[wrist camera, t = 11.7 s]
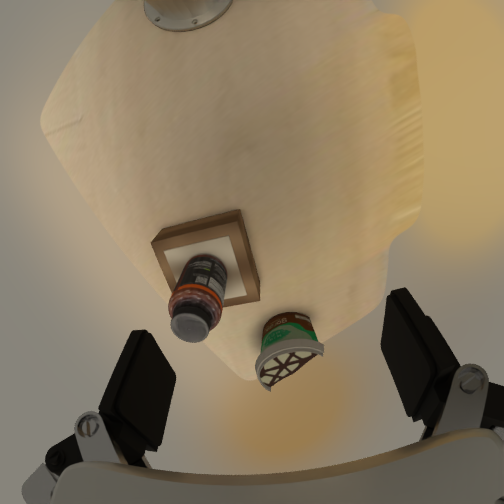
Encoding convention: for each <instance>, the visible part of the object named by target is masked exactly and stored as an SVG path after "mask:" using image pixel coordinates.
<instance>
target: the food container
mask: <svg viewBox="0 0 504 504" xmlns="http://www.w3.org/2000/svg"><path fill="white" fill-rule="evenodd" d="M323 352H324V345H323V344H322V343H320V342H318V339H317V337H316V334H315V331H314V329H313V326H312V324H311V321H310V318H309V317H308V316H306V315H304V314H300V313H297V312H286V313H282V314H278V315H276V316H274V317H272V318H271V319H270V320H269V321H268V322H267V323H266V324H265V326H264V329H263V337H262V346H261V354H260V355H259V356H258V358H257V360H256V364H255V369H256V373H257V377H258V380H259V381H260V383H261V385H262V386H263V387H264V388H265V389H267V390H268V391H271V386H273V385H274V384H275V383H277V382H278V381H280V380H282V379H283V378H285V377H287V376H289V375H291V374H293V373H295V372H296V371H297V370H298V369H300V368H301V367H302V366H303V365H304V364H305V363H307V362H308V361H309V360H311V359H312V358H313V357H315V356H316V355H318V354H319V355H321V356H323Z"/></svg>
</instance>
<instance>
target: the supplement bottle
mask: <svg viewBox="0 0 504 504" xmlns="http://www.w3.org/2000/svg"><path fill="white" fill-rule="evenodd" d="M227 276H228V275H227V270H226V268H225V266H224V264H223V263H222V262H221V261H220V260H219V259H217V258H215V257H213V256H211V255H197V256H194V257H193V258H191V259H190V260H189V261H188V262H187V263H186V265H185V266H184V268H183V271H182V273H181V275H180V277H179V279H178V282H177V284H176V286H175V288H174V291H173V293H172V295H171V298H170V300H169V305H168V309H169V314H170V317H171V318H172V320H171V329H172V331H173V333H174V334H175V335H176V336H177V337H178V338H180V339H181V340H184V341H186V342H192V343H193V342H194V343H196V342H200V341H203V340H204V339H205V338H206V337H207V336H208V334H209V331H210V330H212V329H213V328H214V327H216V326H217V324H218V323H219V321H220V318H221V314H222V309H223V303H224V297H225V290H226V285H227Z"/></svg>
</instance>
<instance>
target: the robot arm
mask: <svg viewBox="0 0 504 504" xmlns="http://www.w3.org/2000/svg"><path fill="white" fill-rule="evenodd" d="M231 3H232V0H145V1H144V11H145V13H146V16H147V17H148V19H149V20H150V21H151V22H152V23H153V24H155V25H156V26H158V27H159V28H162V29H165V30H169V31H188V30H193V29H197V28H200V27H203V26H205V25H207V24H209V23H211V22H213V21H215V20H216V19H217V18H219V17H220V16H221V15H223V13H224V12H225V11H226V10H227V9H228V8H229V6H230V4H231ZM159 20H160V21H159ZM195 23H197V24H195ZM381 350H382V352H383V355H384V357H385V360H386V362H387V365H388V367H389V369H390V372H391V374H392V377H393V379H394V382H395V385H396V387H397V390H398V392H399V395H400V398H401V400H402V403H403V406H404V409H405V411H406V414H407V416H408V417H411V416H412V419H413V422H416V421H418V420H421V419H422V420H423V423H424V425H425V429H424V431H423V433H422V436H421V438H420V440H419V442H416V443H413V444H410V445H407V446H405V447H401V448H398V449H395V450H392V451H389V452H385V453H382V454H378V455H375V456H371V457H367V458H363V459H359V460H356V461H351V462H347V463H342V464H338V465H332V466H327V467H322V468H315V469H309V470H302V471H294V472H284V473H272V474H256V475H209V474H193V473H181V472H172V471H164V470H156V469H152V468H151V466H150V464H149V462H148V461H147V459H146V457H145V455H144V454H145V450H147V451H154V452H157V449H158V446H160V445H161V443H162V439H163V435H164V430H165V426H166V421H167V416H168V412H169V408H170V404H171V399H172V395H173V391H174V387H175V383H176V375H175V372H174V370H173V369H172V367H171V366H170V364H169V362H168V361H167V359H166V358H165V356H164V354H163V353H162V351H161V349H160V348H159V346H158V344H157V343H156V341H155V339H154V337H153V336H152V334H151V333H148V331H147V330H133V331H132V332H131V334H130V336H129V338H128V340H127V342H126V344H125V346H124V349H123V351H122V353H121V355H120V357H119V360H118V362H117V364H116V367H115V369H114V371H113V374H112V376H111V378H110V380H109V383H108V385H107V388H106V390H105V393H104V395H103V397H102V400H101V402H100V405H99V408H98V409H99V410H100V411H99V413H96V412H93V411H89V412H86V413H84V414H82V415H81V416H80V417H79V418H78V419H77V421H76V423H75V427H74V430H75V433H74V434H73V435H71V436H69V437H68V438H66V439H65V440H63V441H61V442H59V443H58V444H56V445H54V446H53V447H51V448H50V449H49V450H48V452H47V454H46V457H45V462H46V464H44V463H42V464H41V465H40V467H39V468H38V469H37V470H36V471H35V472H34V473H33V474H32V475H31V476H30V477H29V478H28V479H27V480H26V481H25V483H24V484H23V486H22V495H23V498H24V500H25V501H26V503H27V504H504V386H501V385H498V384H495V383H491V382H489V378H488V375H487V373H486V371H485V370H484V369H483V368H482V367H480V366H478V365H476V364H465V365H463V366H460V364H459V362H458V361H457V359H456V357H455V356H454V354H453V352H452V351H451V349H450V347H449V346H448V344H447V342H446V341H445V339H444V338H443V336H442V334H441V333H440V331H439V330H438V328H437V327H436V325H435V324H434V322H433V321H432V319H431V318H430V317H429V316H425V314H424V313H423V311H422V310H421V308H420V307H419V306H418V304H417V303H416V301H415V300H414V298H413V297H412V295H411V294H410V292H409V291H408V290H407V289H406V288H405V287H404V288H400V289H396V290H392V291H391V293H390V295H388V296H387V299H386V309H385V317H384V324H383V331H382V338H381Z"/></svg>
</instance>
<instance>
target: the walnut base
mask: <svg viewBox="0 0 504 504" xmlns="http://www.w3.org/2000/svg"><path fill="white" fill-rule="evenodd" d="M151 245H152V248H153V250H154V252H155V255H156V257H157V260H158V262H159V264H160V267H161V269H162V271H163V274H164V276H165V278H166V281H167V283H168V285H169V287H170V290H171V292H172V293H173V291H174V288H175V286H176V284H177V282H178V279H179V277H180V275H181V273H182V271H183V268H184V266H185V265H186V263H187V262H188V261H189V260H190V259H191V258H193V257H194V256H197V255H211V256H213V257H215V258H217V259H219V260H220V261H221V262H222V263H223V264H224V266H225V268H226V270H227V275H228V276H227V285H226V290H225V297H224V303H223V307H228V306H234V305H239V304H245V303H250V302H256V301H260V280H259V277H258V273H257V269H256V266H255V262H254V259H253V255H252V251H251V248H250V244H249V240H248V237H247V233H246V229H245V226H244V222H243V219H242V215H241V211H240V209H239V210H235V211H231V212H227V213H223V214H218V215H214V216H210V217H206V218H202V219H198V220H195V221H191V222H187V223H183V224H179V225H176V226H172V227H168V228H164V229H162V230H161V231H160V232H159V233H158V235H157V236H156V237H155V238H154V239H153V241H152V242H151Z"/></svg>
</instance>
